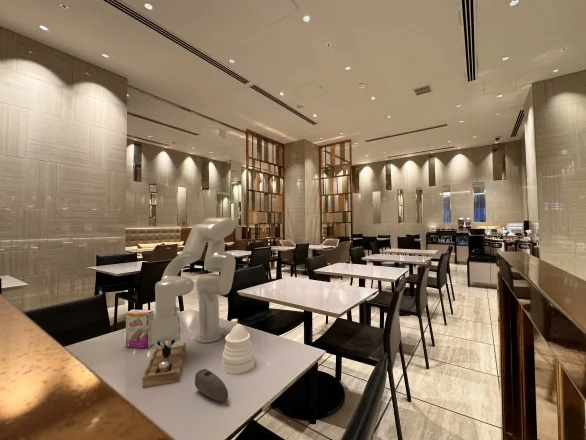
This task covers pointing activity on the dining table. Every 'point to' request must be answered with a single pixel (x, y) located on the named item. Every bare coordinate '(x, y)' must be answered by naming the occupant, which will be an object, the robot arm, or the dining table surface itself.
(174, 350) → the track
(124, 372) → the dining table surface
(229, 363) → the honey pot
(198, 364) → the dining table surface
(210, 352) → the dining table surface
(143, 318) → the candy bar box
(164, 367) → the ball
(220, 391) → the perforated stone tool
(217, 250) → the robot arm
